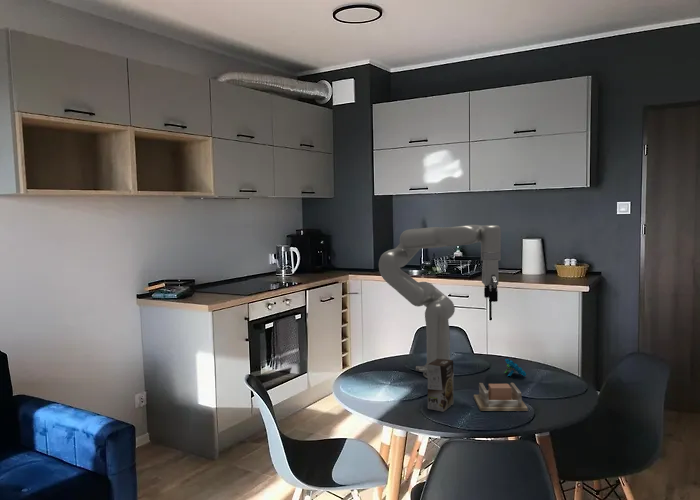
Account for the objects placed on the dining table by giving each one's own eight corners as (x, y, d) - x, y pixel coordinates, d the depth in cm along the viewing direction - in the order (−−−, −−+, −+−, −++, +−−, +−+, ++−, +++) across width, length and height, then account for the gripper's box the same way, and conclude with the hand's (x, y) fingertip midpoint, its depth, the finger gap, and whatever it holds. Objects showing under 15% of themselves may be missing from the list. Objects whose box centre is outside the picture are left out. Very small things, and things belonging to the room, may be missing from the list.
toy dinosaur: (531, 375, 229) (514, 358, 229) (522, 386, 229) (504, 370, 228) (519, 371, 240) (502, 355, 240) (510, 382, 239) (493, 366, 239)
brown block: (491, 403, 199) (491, 388, 199) (488, 398, 204) (488, 383, 204) (511, 403, 199) (511, 388, 199) (508, 398, 204) (508, 383, 204)
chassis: (480, 411, 195) (480, 394, 195) (473, 397, 209) (473, 381, 209) (527, 411, 194) (527, 394, 194) (517, 397, 208) (517, 381, 208)
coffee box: (444, 412, 195) (444, 366, 194) (427, 409, 199) (426, 363, 197) (454, 404, 203) (454, 359, 202) (437, 401, 206) (437, 357, 205)
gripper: (477, 254, 232) (477, 296, 234) (485, 258, 215) (485, 303, 217) (495, 254, 232) (495, 295, 233) (505, 258, 215) (505, 303, 216)
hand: (490, 299), depth 225 cm, fingers open, 9 cm apart
